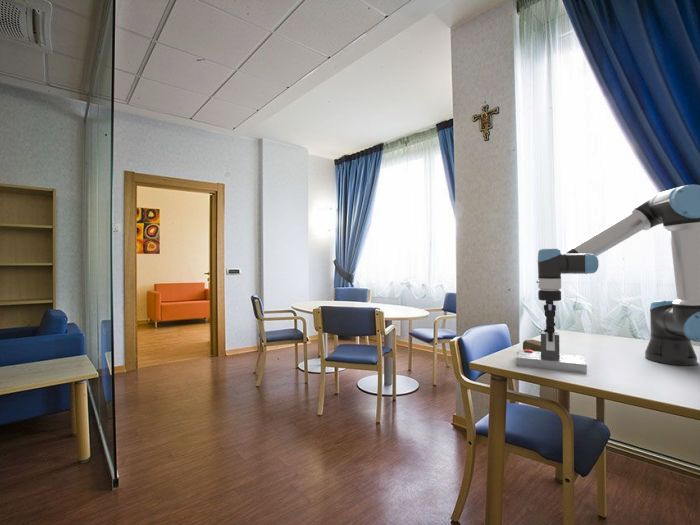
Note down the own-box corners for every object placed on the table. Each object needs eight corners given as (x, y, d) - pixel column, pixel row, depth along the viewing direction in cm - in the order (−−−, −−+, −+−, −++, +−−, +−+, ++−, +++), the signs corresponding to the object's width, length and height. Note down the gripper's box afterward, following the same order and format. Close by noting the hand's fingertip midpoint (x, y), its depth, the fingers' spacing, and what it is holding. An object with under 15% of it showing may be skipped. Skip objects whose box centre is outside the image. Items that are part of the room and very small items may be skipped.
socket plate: (583, 363, 137) (583, 354, 137) (586, 373, 125) (586, 362, 125) (518, 357, 147) (518, 348, 147) (516, 365, 136) (516, 355, 136)
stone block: (532, 349, 159) (532, 338, 159) (553, 356, 148) (553, 344, 148) (521, 350, 158) (521, 339, 158) (542, 357, 147) (542, 345, 147)
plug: (559, 363, 137) (558, 332, 137) (559, 366, 133) (559, 335, 133) (541, 361, 140) (540, 331, 140) (541, 364, 135) (540, 333, 135)
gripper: (538, 287, 149) (539, 338, 149) (537, 292, 127) (538, 352, 127) (559, 287, 145) (560, 340, 145) (562, 292, 123) (563, 355, 123)
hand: (550, 346), depth 136 cm, fingers open, 13 cm apart
